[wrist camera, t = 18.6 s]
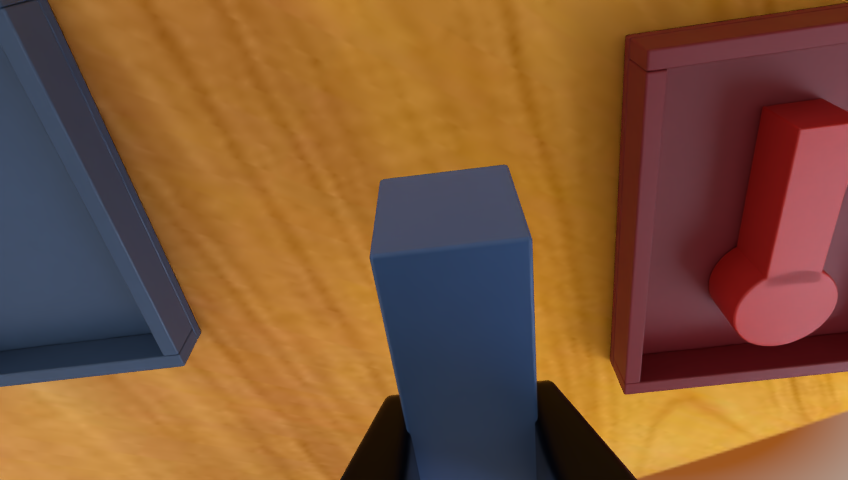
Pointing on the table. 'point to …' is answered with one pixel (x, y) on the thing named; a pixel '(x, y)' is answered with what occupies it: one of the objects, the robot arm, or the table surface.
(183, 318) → the blue tray
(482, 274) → the blue spoon
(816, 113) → the red spoon
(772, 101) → the red tray
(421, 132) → the table surface
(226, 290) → the table surface
